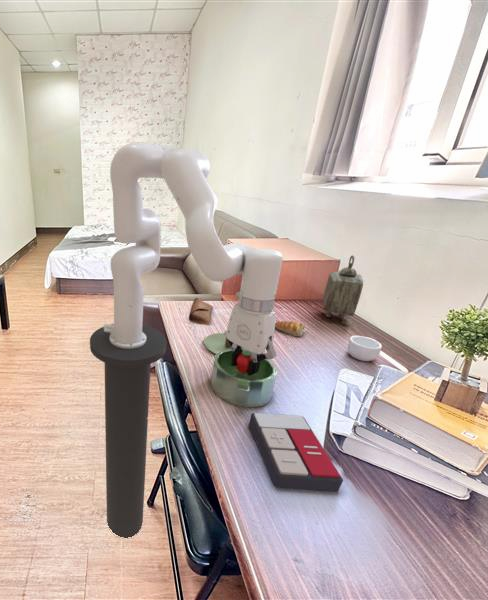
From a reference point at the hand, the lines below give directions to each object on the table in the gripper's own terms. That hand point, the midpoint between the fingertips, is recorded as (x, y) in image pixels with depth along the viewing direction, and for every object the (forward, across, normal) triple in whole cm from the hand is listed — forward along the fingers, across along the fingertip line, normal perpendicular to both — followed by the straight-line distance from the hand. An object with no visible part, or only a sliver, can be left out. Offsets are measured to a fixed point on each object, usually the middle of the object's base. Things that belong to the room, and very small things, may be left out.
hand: (244, 368), depth 79 cm
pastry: (+7, -11, +43) cm, 45 cm away
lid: (+6, -16, +15) cm, 22 cm away
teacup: (+7, +9, +45) cm, 46 cm away
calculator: (+7, +19, -10) cm, 22 cm away
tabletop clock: (+7, -9, +68) cm, 69 cm away
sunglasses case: (+6, -39, +27) cm, 48 cm away
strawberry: (0, 0, 0) cm, 0 cm away
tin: (+6, 0, 0) cm, 6 cm away
